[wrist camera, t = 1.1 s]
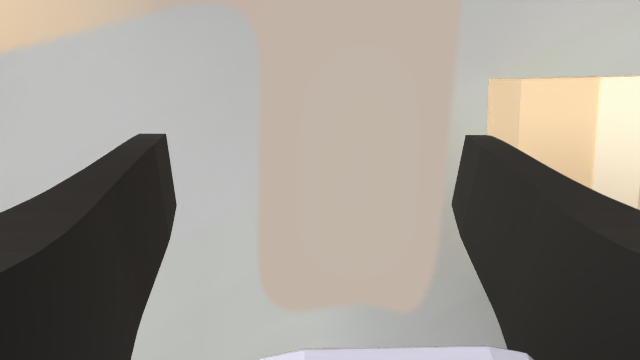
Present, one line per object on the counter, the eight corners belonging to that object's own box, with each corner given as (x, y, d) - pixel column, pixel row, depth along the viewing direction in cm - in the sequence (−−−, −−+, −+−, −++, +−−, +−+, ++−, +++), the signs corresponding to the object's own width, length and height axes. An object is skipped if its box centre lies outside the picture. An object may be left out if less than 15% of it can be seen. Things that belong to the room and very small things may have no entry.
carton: (632, 268, 24) (702, 318, 19) (480, 267, 25) (510, 315, 20) (651, 74, 22) (734, 74, 17) (488, 78, 23) (522, 79, 18)
